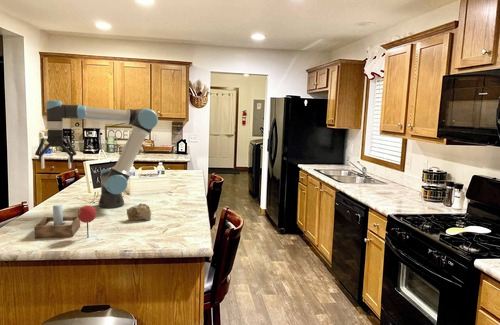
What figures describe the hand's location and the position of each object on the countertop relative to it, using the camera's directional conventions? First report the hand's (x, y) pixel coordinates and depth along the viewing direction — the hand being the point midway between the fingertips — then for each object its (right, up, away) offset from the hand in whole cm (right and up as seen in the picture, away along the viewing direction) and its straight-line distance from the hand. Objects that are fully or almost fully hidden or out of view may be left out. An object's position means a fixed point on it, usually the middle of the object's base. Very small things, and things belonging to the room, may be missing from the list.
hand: (56, 168), depth 208 cm
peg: (+14, -29, -25) cm, 41 cm away
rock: (+45, -28, +1) cm, 53 cm away
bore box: (+14, -30, -25) cm, 42 cm away
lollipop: (+30, -32, -32) cm, 54 cm away
